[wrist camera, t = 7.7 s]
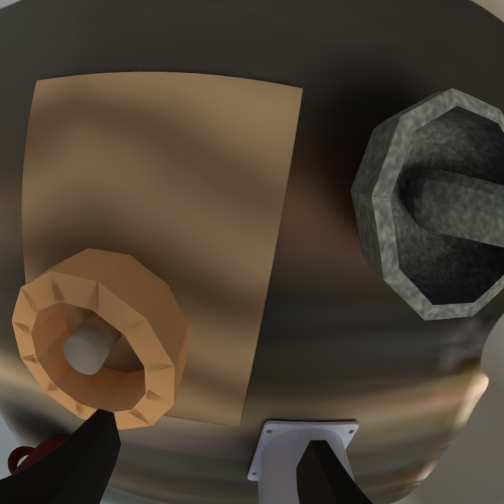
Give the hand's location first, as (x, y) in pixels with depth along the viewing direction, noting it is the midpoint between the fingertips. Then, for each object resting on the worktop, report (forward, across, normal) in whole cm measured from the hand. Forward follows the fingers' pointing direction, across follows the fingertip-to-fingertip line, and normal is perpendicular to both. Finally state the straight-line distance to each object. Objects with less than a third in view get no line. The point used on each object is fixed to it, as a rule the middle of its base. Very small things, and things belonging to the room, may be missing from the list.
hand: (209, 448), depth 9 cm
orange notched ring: (+8, +7, +1) cm, 11 cm away
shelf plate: (+9, +6, -3) cm, 12 cm away
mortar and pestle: (+10, -10, -10) cm, 17 cm away
